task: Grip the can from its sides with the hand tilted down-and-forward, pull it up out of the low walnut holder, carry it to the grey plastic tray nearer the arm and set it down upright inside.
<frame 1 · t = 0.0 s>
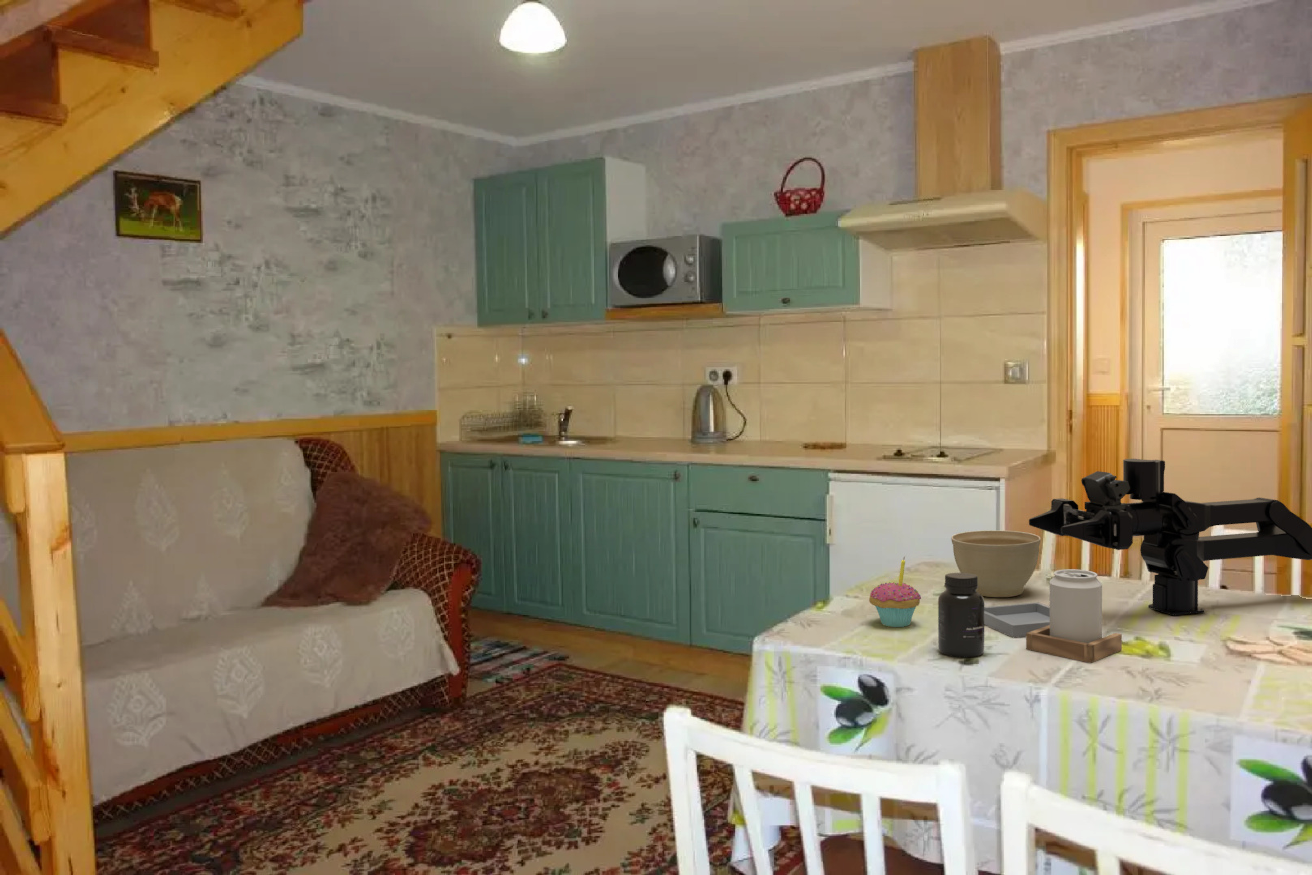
hand: (1045, 526, 172), 17 cm above the table, tool horizontal, fingers open, 9 cm apart
tray: (1026, 624, 172), on the table
supplement bottle: (961, 653, 158), on the table
can: (1075, 650, 157), resting in holder
holder: (1075, 648, 157), on the table
cupcake: (895, 625, 176), on the table
planter bowl: (995, 593, 196), on the table
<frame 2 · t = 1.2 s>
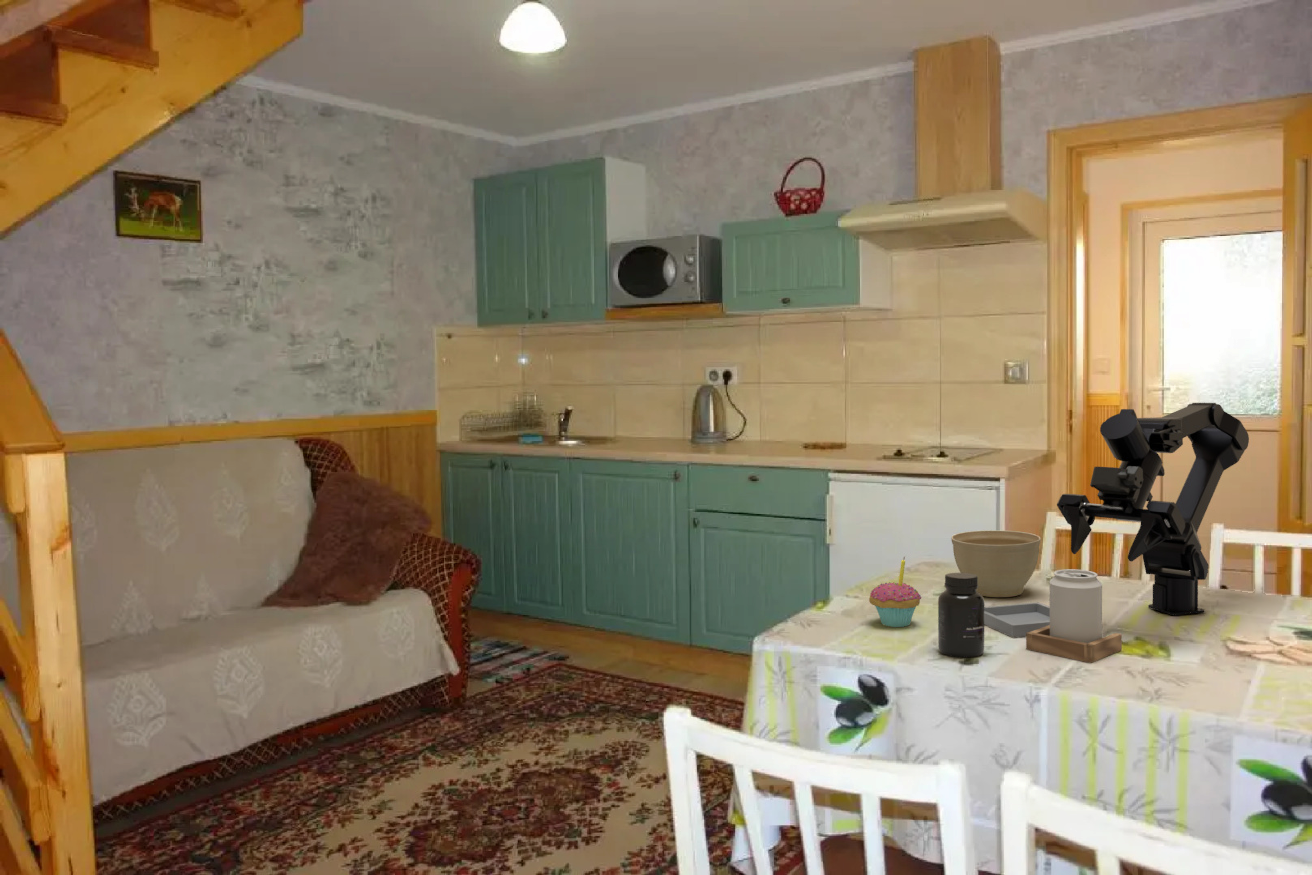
hand: (1100, 556, 161), 13 cm above the table, tool tilted 45°, fingers open, 9 cm apart
nothing on the table moved.
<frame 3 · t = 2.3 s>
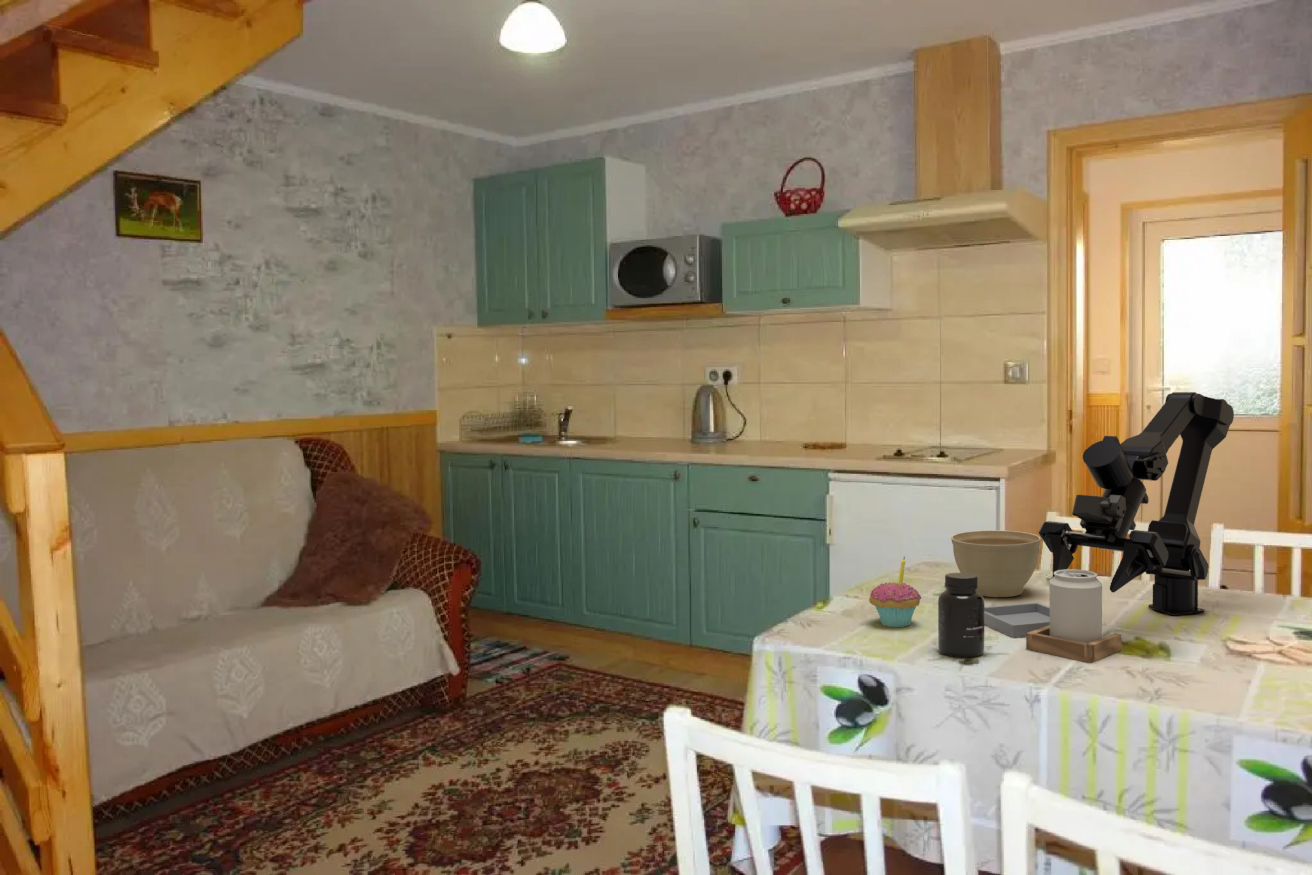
hand: (1082, 586, 158), 9 cm above the table, tool tilted 45°, fingers open, 9 cm apart
nothing on the table moved.
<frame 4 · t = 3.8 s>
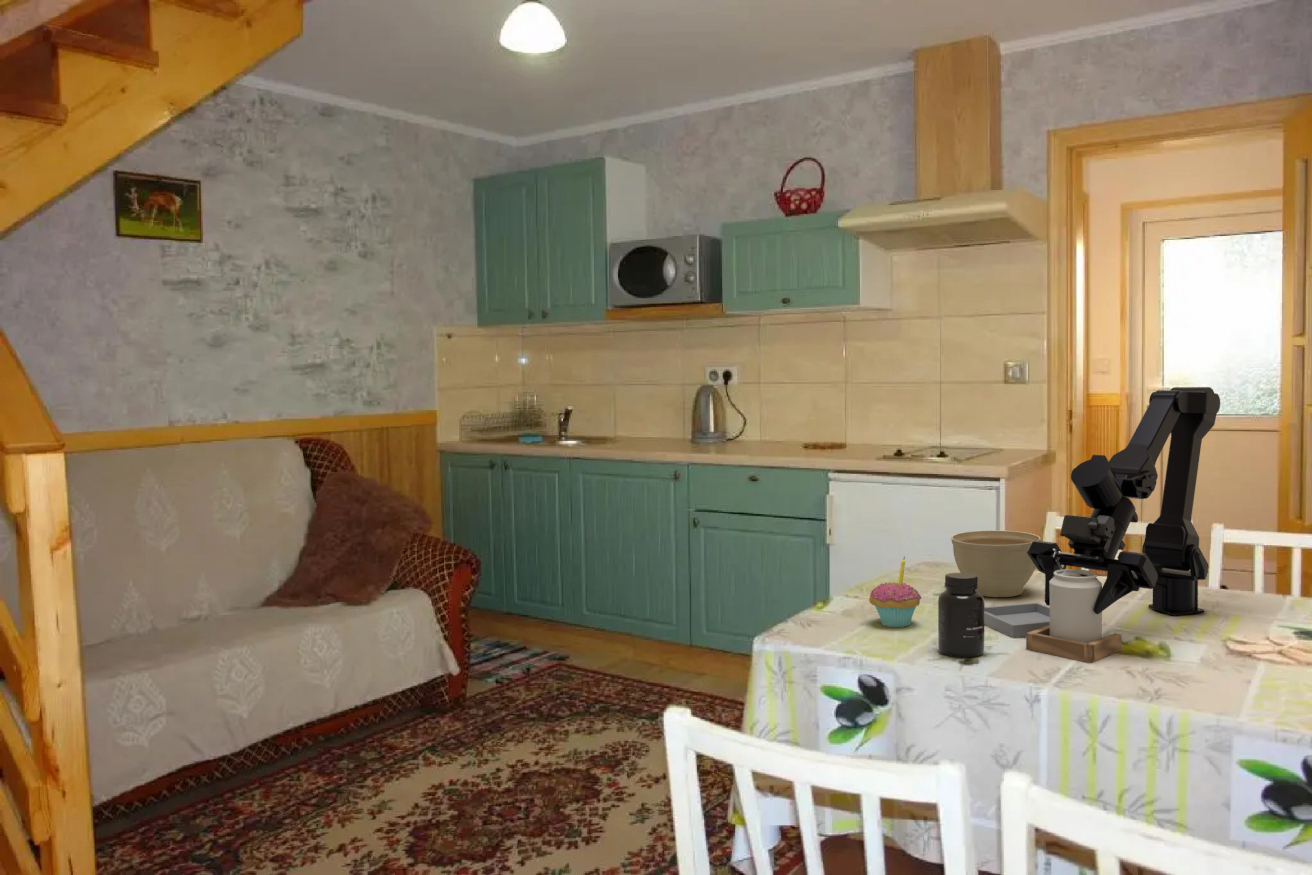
hand: (1070, 608, 156), 7 cm above the table, tool tilted 45°, fingers closed on can, 7 cm apart
can: (1075, 650, 157), resting in holder, touching gripper
everything else where it was.
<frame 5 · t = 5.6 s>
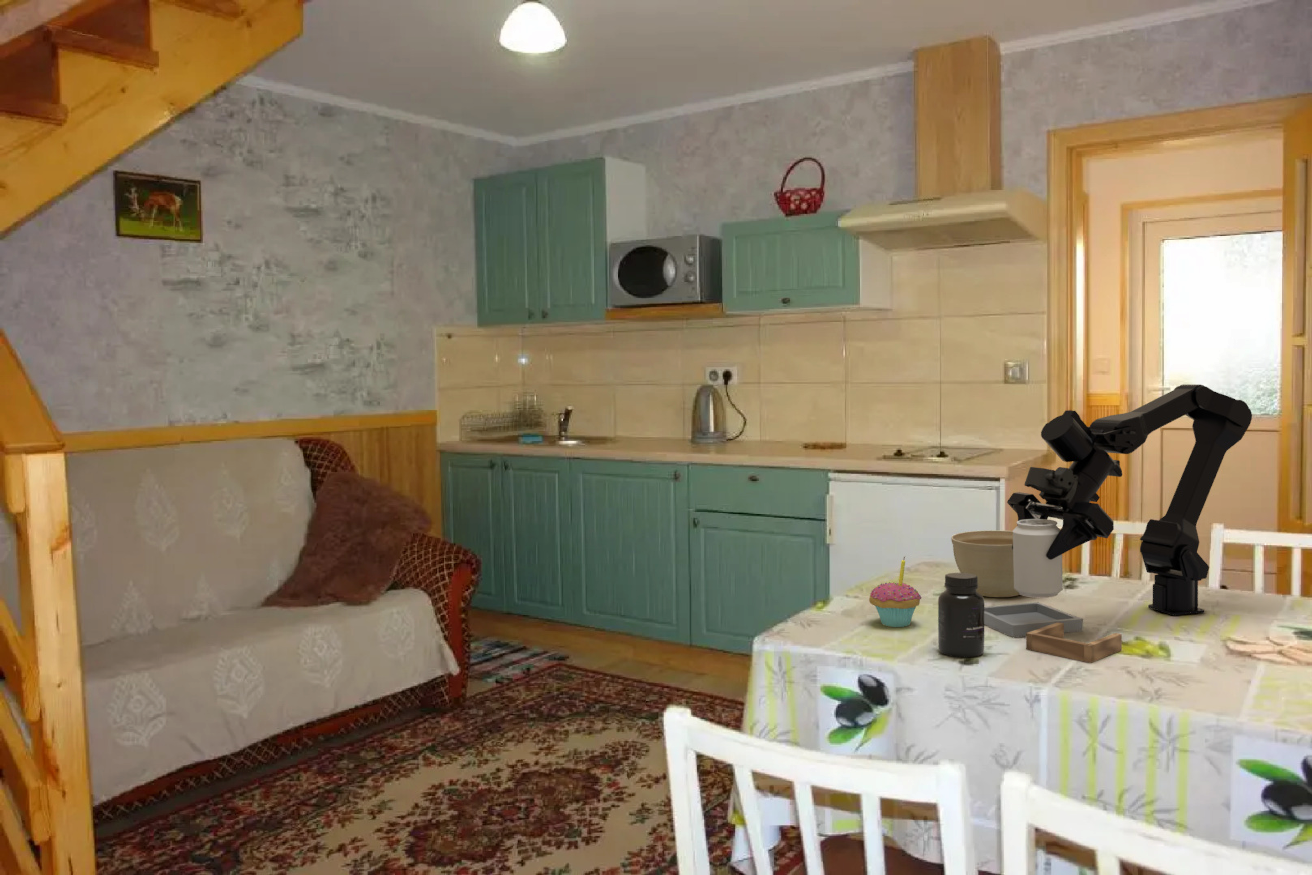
hand: (1030, 553, 166), 13 cm above the table, tool tilted 45°, fingers closed on can, 7 cm apart
can: (1038, 594, 167), point 6 cm above the table, touching gripper
everything else where it was.
when the fingers open (8 cm above the table, at t = 7.5 s): can stays where it is, resting on tray.
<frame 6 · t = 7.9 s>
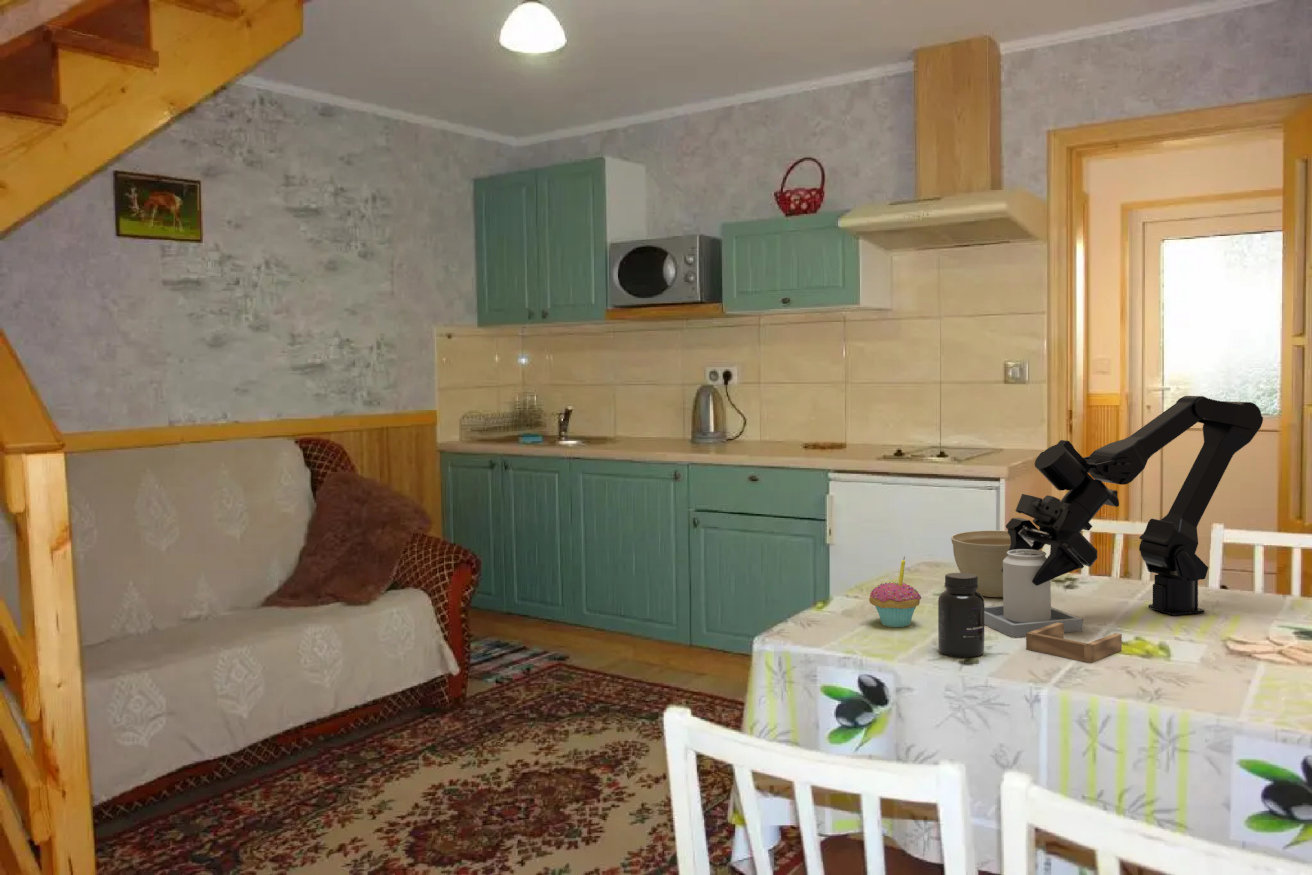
hand: (1018, 578, 171), 8 cm above the table, tool tilted 45°, fingers open, 9 cm apart
can: (1027, 622, 172), resting on tray
everything else where it was.
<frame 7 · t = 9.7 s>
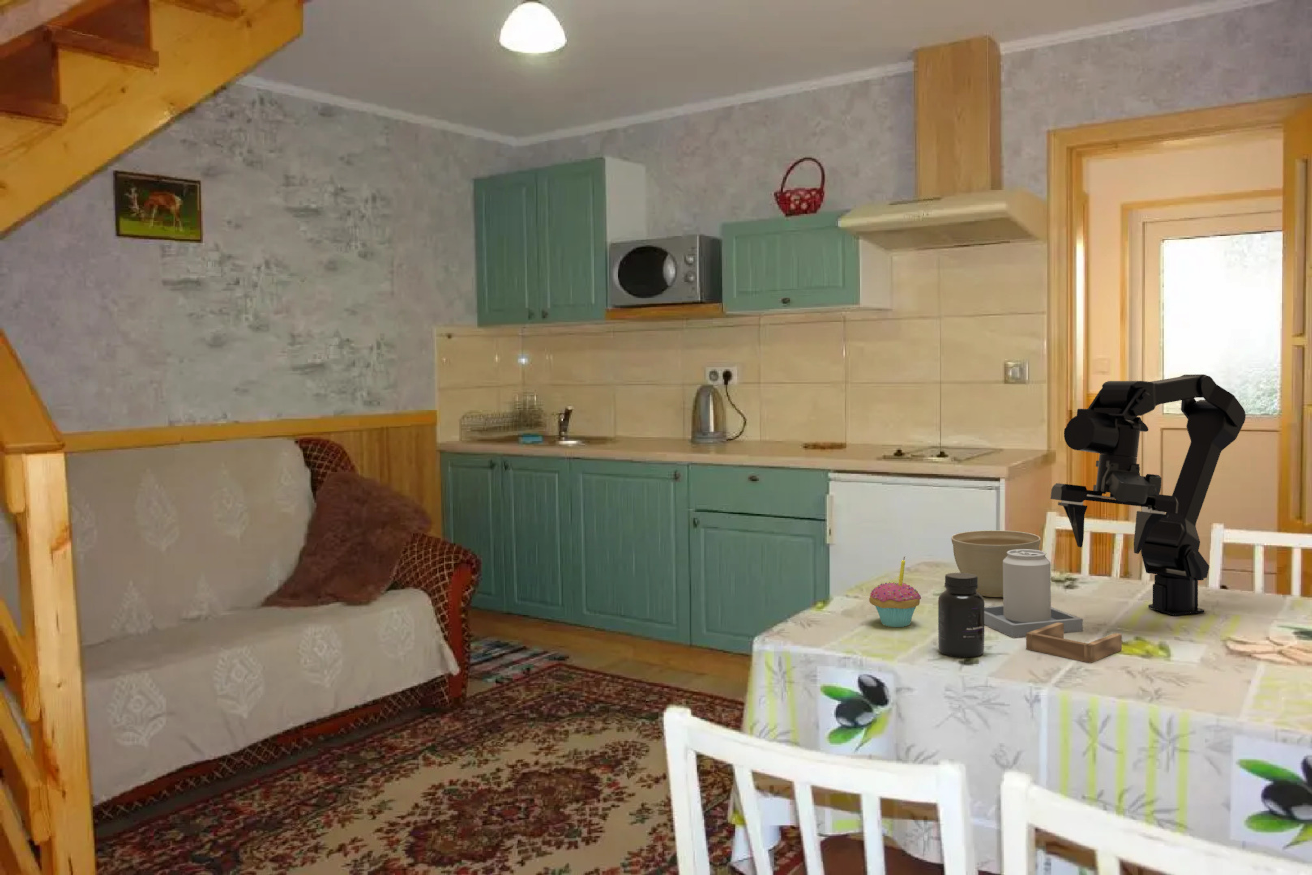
hand: (1108, 550, 169), 13 cm above the table, tool pointing down, fingers open, 9 cm apart
nothing on the table moved.
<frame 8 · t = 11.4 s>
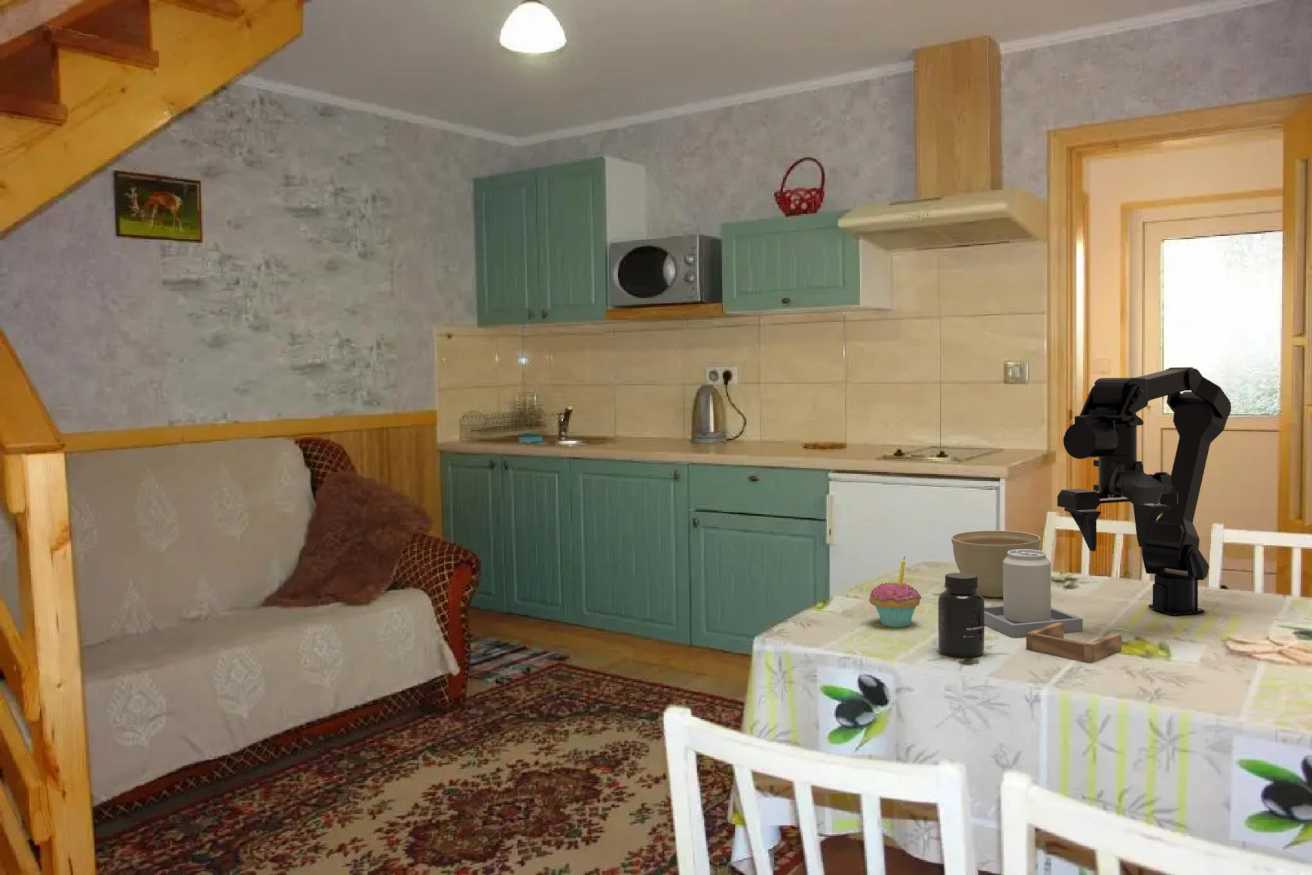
hand: (1117, 549, 168), 13 cm above the table, tool pointing down, fingers open, 9 cm apart
nothing on the table moved.
at the end: can inside the target area on the tray (0.2 cm from its centre), point 0.3 cm above the tray's base; can tilted 0°; the gripper is holding nothing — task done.
